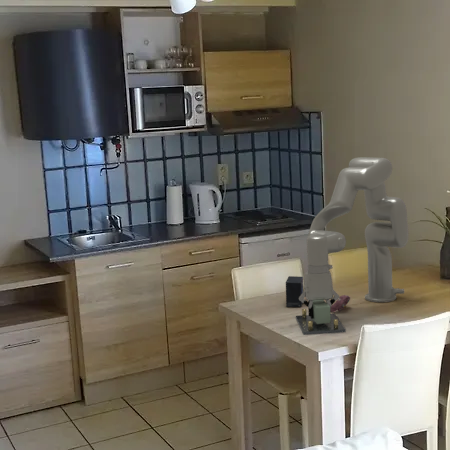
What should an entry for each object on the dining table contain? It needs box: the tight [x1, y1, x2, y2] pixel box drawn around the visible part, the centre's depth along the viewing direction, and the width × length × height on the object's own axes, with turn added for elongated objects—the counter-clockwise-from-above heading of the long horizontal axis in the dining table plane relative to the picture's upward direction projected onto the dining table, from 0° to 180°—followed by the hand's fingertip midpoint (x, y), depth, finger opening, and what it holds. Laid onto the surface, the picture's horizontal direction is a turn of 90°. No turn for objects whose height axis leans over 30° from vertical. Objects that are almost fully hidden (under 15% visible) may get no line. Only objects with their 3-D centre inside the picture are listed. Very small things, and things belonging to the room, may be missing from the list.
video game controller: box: [330, 294, 351, 313], centre depth 279 cm, size 10×5×7 cm, turn 149°
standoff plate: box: [295, 308, 346, 336], centre depth 262 cm, size 15×20×4 cm
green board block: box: [312, 300, 331, 324], centre depth 261 cm, size 5×11×6 cm, turn 8°
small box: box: [285, 275, 304, 308], centre depth 291 cm, size 11×6×10 cm, turn 168°
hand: (319, 316), depth 261 cm, fingers closed on green board block, 5 cm apart
